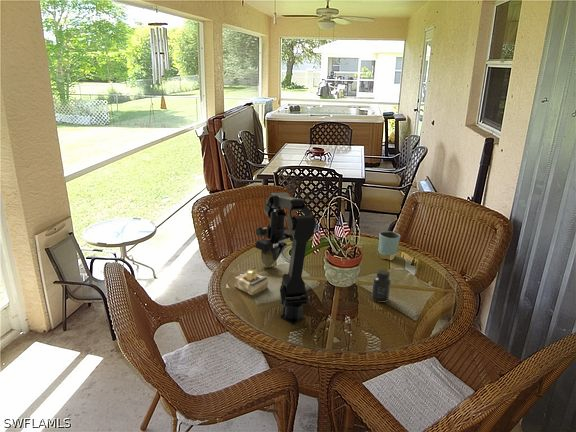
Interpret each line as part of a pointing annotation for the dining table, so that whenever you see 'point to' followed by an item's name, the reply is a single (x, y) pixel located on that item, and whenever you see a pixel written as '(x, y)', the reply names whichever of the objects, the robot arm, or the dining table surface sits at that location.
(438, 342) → the dining table surface
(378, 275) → the supplement bottle
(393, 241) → the teal plant pot
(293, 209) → the robot arm
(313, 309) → the dining table surface
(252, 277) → the gold metal cylinder
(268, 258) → the cup
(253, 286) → the jig
